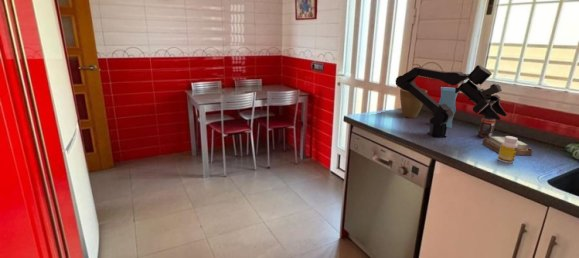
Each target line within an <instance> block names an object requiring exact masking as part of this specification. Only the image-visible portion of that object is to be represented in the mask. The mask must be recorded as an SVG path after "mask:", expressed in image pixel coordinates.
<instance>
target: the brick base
mask: <svg viewBox="0 0 579 258" xmlns="http://www.w3.org/2000/svg"><path fill="white" fill-rule="evenodd" d="M505 137H506V136H492V137H489V138H484V139H482V145H484V146H486V147H487V148H489V149H491V150H492V151H495V152H496V153H498V154H499V151H500V148H501V144H502V142H503V141H505ZM516 144H517V145H518V148H517V151H516V155H515V156H532V155H533V149H532V147H528V144H527V143H525V142H523V141H521V140H517V142H516Z"/></svg>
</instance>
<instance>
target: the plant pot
mask: <svg viewBox="0 0 579 258" xmlns="http://www.w3.org/2000/svg"><path fill="white" fill-rule="evenodd" d="M420 89H421V90H422V91H424V92H425V93H426V94H427V95H428V90H426V89H424V88H420ZM399 98H400V105H401V106H400V108H401V111H402V116H403V117H406V118H409V119H410V118H413V119H414V118H415V119H416V118H417V117H418V115H419V113H420V112H421V110H422V107H423V106H424V104H423V103H422V102H420V101H419V100H418V99H417V98H416V97H415V96H413V95H412V94H411V93H410V92H408V91H406V90H403V89H401V88H400V87H399Z"/></svg>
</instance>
